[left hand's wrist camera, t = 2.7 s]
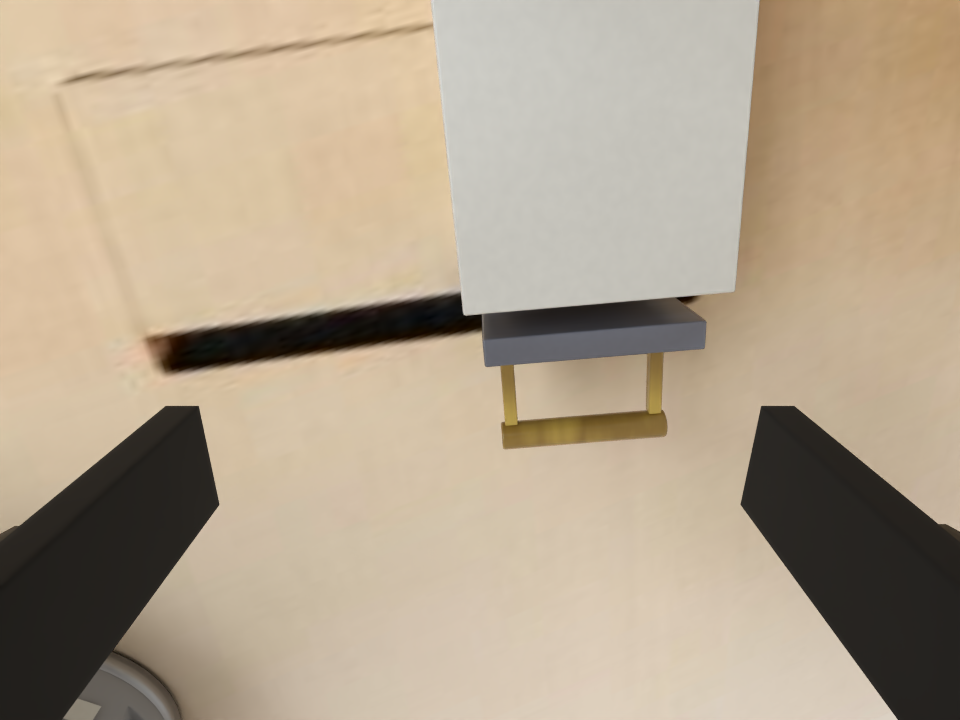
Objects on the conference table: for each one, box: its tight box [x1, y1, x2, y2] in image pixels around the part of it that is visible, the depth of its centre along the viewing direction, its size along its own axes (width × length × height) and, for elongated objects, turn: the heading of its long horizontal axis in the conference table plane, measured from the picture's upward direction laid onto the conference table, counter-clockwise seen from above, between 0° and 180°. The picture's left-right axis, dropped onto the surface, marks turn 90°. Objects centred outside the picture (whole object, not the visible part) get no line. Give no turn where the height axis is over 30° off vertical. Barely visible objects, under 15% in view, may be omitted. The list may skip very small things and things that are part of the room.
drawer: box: [482, 297, 706, 449], centre depth 23 cm, size 26×9×9 cm, turn 5°
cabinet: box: [431, 0, 760, 315], centre depth 21 cm, size 21×10×11 cm, turn 5°
